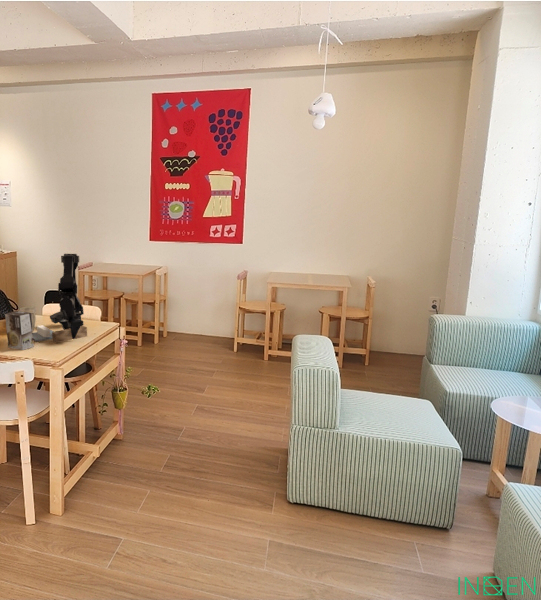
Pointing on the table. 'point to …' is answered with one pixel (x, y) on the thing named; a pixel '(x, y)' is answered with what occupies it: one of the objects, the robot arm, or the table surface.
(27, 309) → the block tower
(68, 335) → the beam
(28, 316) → the coffee box
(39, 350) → the table surface
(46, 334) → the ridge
